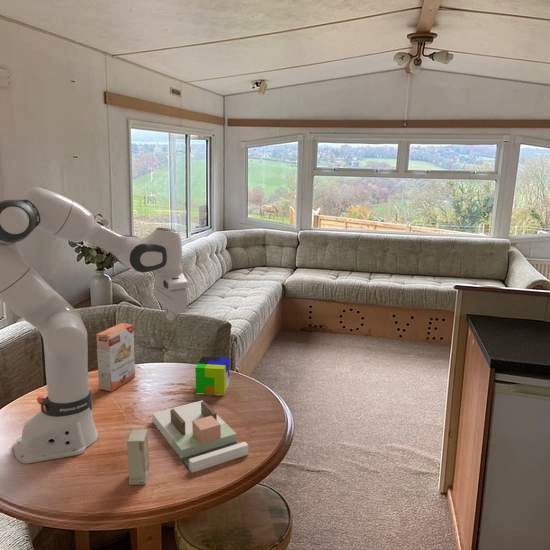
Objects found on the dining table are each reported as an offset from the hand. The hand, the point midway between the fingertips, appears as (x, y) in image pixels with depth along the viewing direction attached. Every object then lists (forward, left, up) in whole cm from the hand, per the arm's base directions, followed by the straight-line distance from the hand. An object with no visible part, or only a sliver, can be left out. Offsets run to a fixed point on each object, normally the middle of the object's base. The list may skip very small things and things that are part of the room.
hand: (170, 319), depth 170 cm
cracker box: (-12, +23, -29) cm, 39 cm away
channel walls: (-2, -22, -26) cm, 34 cm away
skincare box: (-23, -36, -29) cm, 52 cm away
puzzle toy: (+16, +2, -29) cm, 33 cm away
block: (-2, -31, -26) cm, 41 cm away
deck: (-2, -25, -29) cm, 39 cm away
